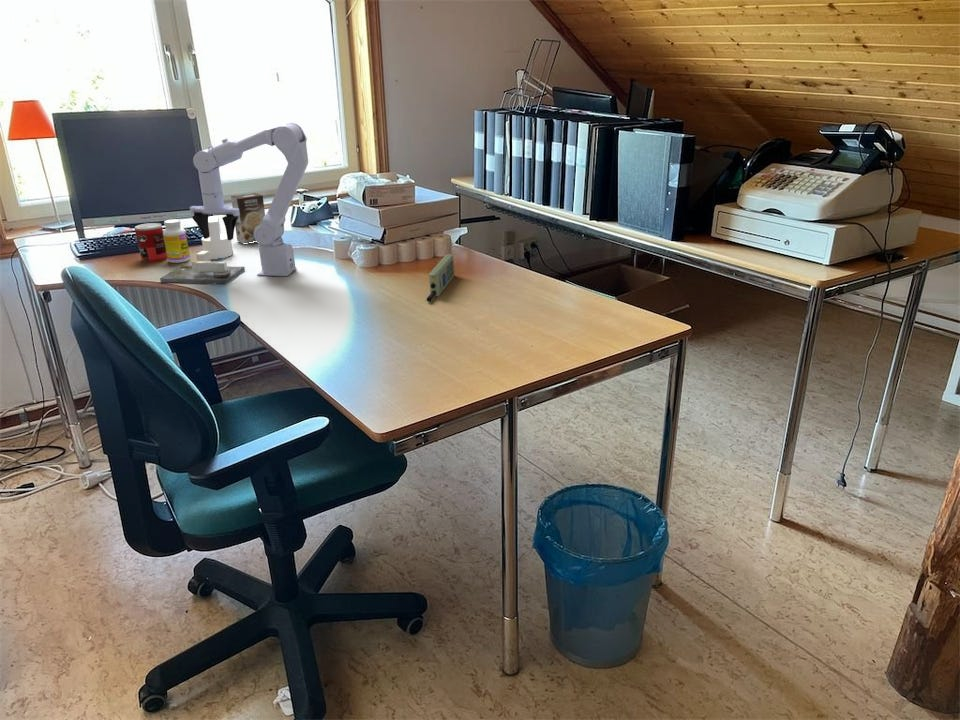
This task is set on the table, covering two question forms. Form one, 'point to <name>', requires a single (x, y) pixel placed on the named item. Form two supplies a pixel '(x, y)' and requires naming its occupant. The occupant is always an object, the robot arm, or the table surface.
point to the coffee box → (248, 215)
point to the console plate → (200, 276)
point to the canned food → (151, 242)
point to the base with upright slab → (217, 240)
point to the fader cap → (203, 256)
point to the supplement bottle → (175, 242)
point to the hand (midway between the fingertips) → (218, 238)
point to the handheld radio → (441, 276)
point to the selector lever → (211, 267)
